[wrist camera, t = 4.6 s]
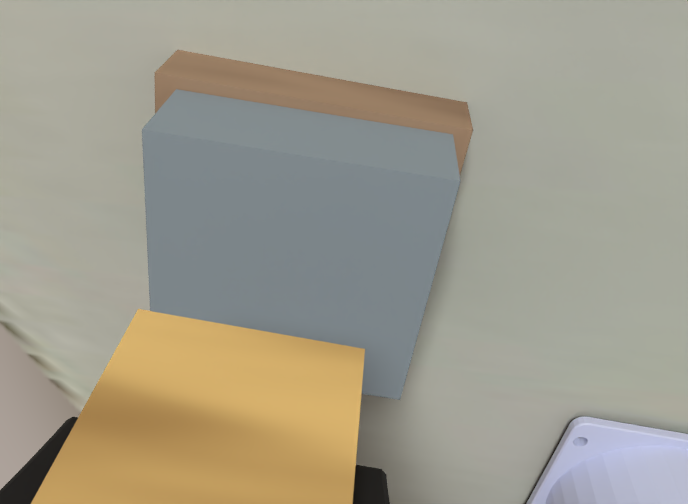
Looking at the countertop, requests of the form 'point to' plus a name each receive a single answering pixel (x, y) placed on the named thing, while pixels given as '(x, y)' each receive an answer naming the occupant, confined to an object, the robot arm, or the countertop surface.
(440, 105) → the tower base
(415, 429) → the countertop surface
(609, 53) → the countertop surface
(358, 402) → the ochre cube
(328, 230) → the tower top
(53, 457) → the robot arm
